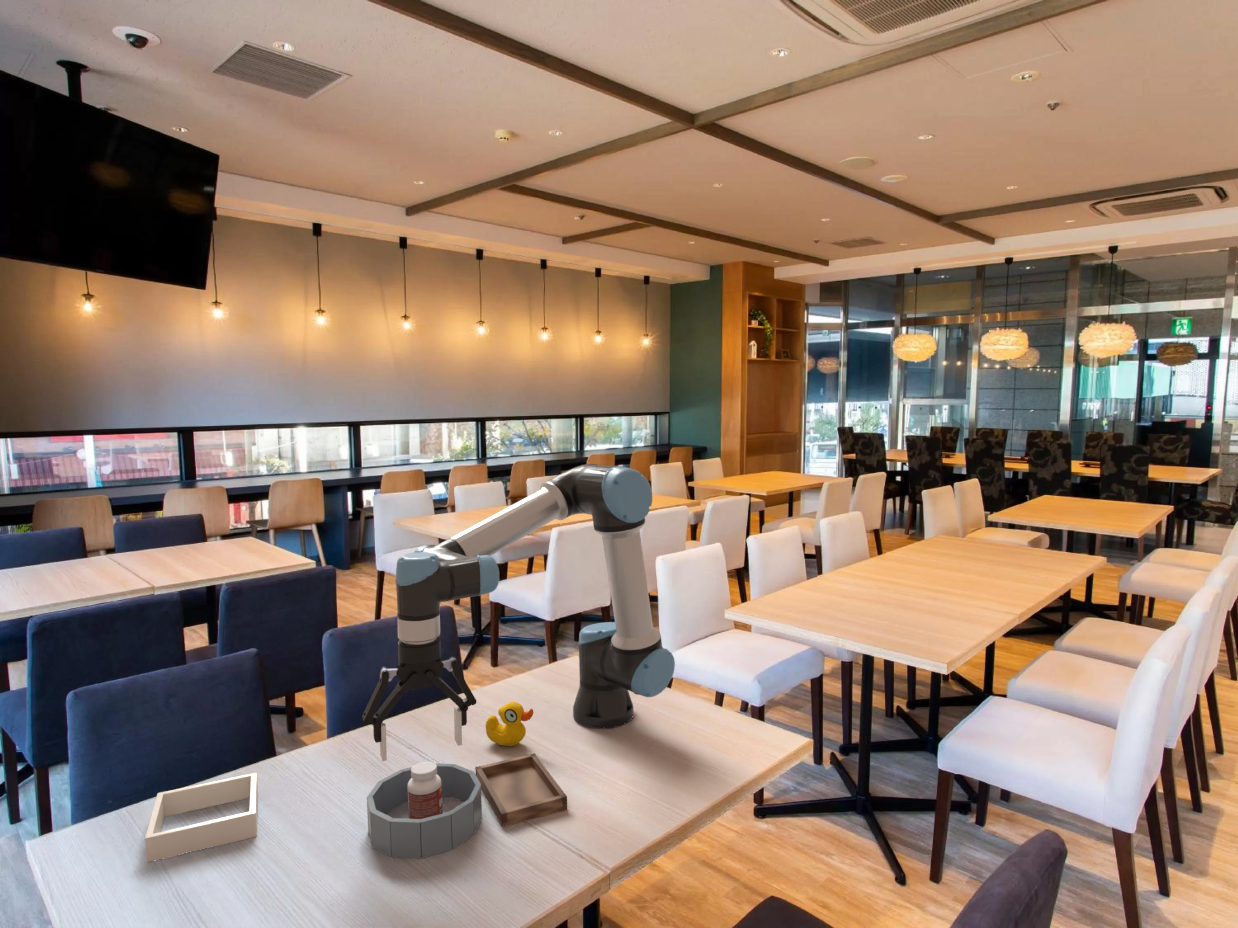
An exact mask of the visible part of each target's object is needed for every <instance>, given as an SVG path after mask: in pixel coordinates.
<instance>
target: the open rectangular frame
mask: <svg viewBox="0 0 1238 928" xmlns="http://www.w3.org/2000/svg"><path fill="white" fill-rule="evenodd" d="M246 799H249V811H246V812H241V813H237V814H233V815H229V816H224V817H220V818H215V819H211V820H206V821H202V822H198V823H194V824H190V825H185V826H180V827H175V828H170V829H168V830H162V828H163V824H164V821H165V817H169V816H174V815H179V814H183V813H189V812H191V811H197V810H200V809H206V808H211V807H215V806H218V805H219V806H220V805H223V804H229V803H232V802H236V801H242V800H246ZM258 805H259V790H258V772H252V773H246V774H242V775H238V776H233V777H228V778H223V779H219V780H214V781H208V782H205V783H200V784H195V785H190V786H185V787H180V788H176V789H172V790H171V789H170V790H168V791H167V790H164V791H160V792H157V794H156V797H155V802H154V804H153V808H152V813H151V815H150V816H151V817H150V820H149V823H148V827H147V830H146V832H145V833H146V834H145V835H144V836H145V837H144V846H145V857H146V858H145V859H146V863H147V862H149V861H154V860H158V861H160V860H159V859H162V860H164V859H163V858H166V859H169V858H168V857H170V858H172V857H171V856H174V857H177V856H176V855H178V856H180V855H179V854H182V853H186V852H190V851H195V850H199V851H201V850H200V849H203V850H206V849H205V848H207V849H210V847H211V848H213V847H212V846H215V847H220V846H222V845H226V844H230V843H236V842H239V841H243V840H247V839H251V838H255V837H258V808H259V807H258ZM195 852H196V851H195ZM190 853H191V852H190ZM186 854H187V853H186ZM182 855H183V854H182ZM154 862H155V861H154ZM149 863H150V862H149Z"/></svg>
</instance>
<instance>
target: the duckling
mask: <svg viewBox="0 0 1238 928" xmlns="http://www.w3.org/2000/svg"><path fill="white" fill-rule="evenodd" d="M497 713H498V716H499V717H500V719H501V721H502V723H503V724H501V723H500V722H499V720H498V717H497V716H496V715H493V714H492V715H490V716H488V718H487V719H486V722H485V732H486V735H487V738H488V739H489V740H490V741H492V742H493V743H495V744H498V745H499V746H504V747H514V746H517V745H518V744H519V743H521V742H522V741H523V739H524V738H525V736H526V732H527V730H526V729H527V728H526V727H525V724H523V722H527V721H530V719H532V717H533V714H534V709H533V708H530V709H529V710H527V711H525V709H524V707H523V705H522V704H520V703H519V702H516V701H510V702H507V703H505V704H504V705H502V706H501V707H499V708H498V711H497ZM504 724H505V725H504Z"/></svg>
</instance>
